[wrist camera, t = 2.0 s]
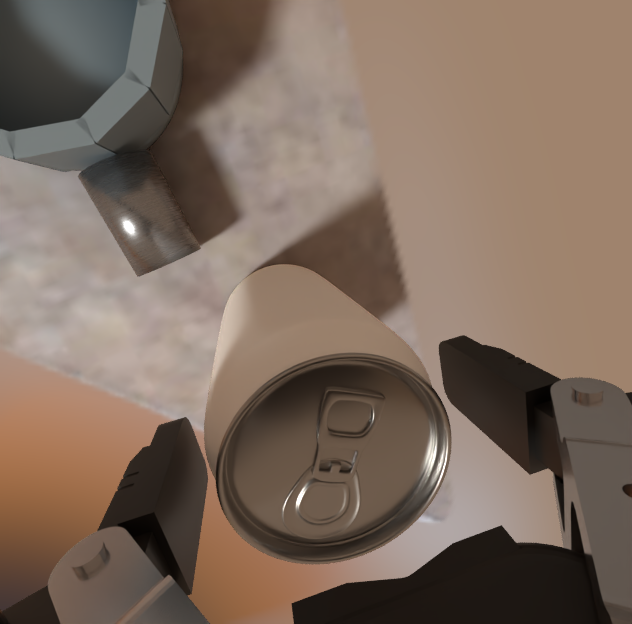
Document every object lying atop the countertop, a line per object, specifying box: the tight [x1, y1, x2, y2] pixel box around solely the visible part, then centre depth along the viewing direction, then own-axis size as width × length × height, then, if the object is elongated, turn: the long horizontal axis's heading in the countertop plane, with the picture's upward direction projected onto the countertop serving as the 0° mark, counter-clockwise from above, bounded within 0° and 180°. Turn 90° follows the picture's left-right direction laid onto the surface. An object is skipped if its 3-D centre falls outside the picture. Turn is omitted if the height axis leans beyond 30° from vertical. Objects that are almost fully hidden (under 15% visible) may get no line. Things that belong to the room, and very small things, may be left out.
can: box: [204, 264, 451, 564], centre depth 14 cm, size 6×6×12 cm
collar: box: [0, 0, 183, 172], centre depth 12 cm, size 10×10×4 cm
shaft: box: [78, 150, 201, 277], centre depth 15 cm, size 4×3×3 cm
